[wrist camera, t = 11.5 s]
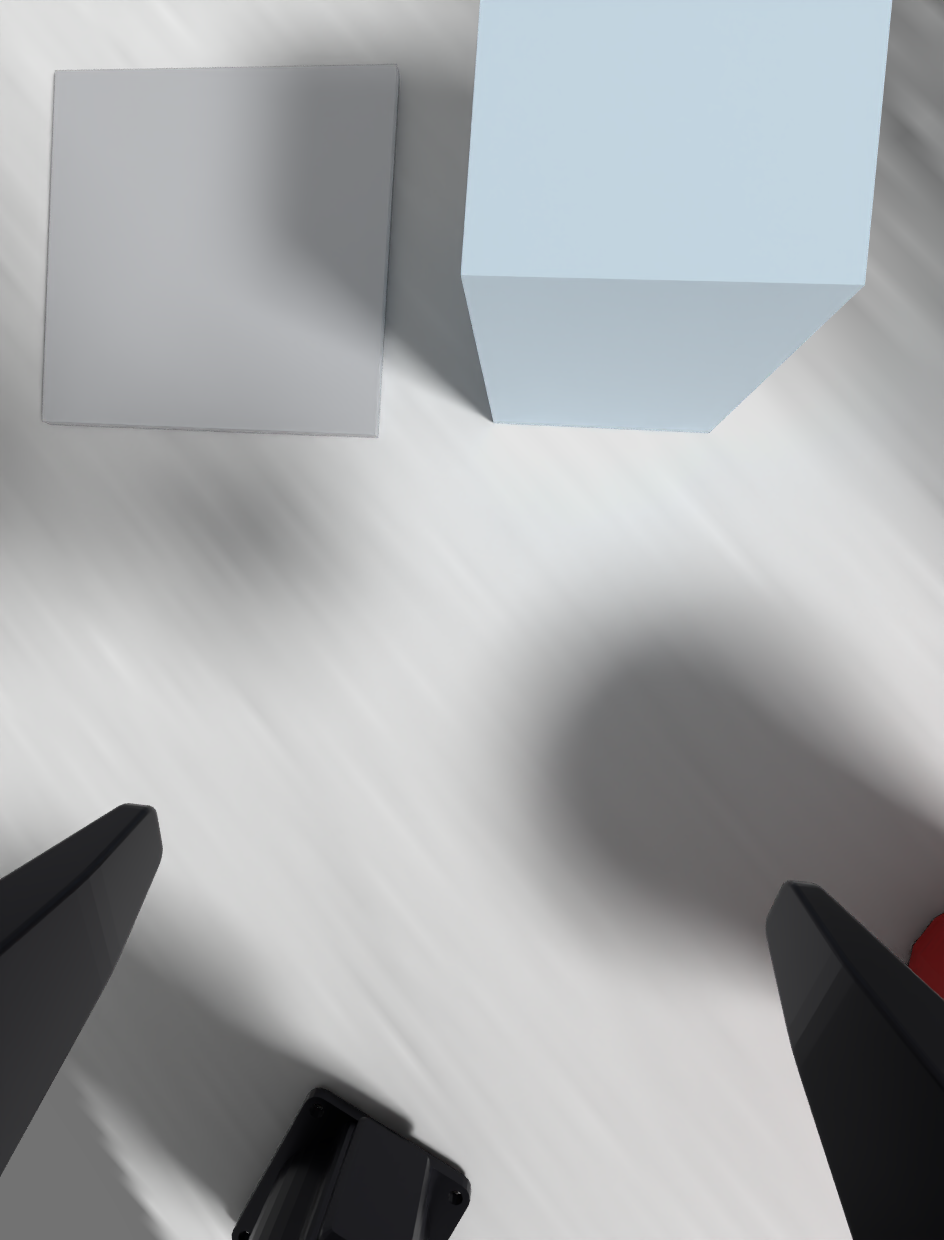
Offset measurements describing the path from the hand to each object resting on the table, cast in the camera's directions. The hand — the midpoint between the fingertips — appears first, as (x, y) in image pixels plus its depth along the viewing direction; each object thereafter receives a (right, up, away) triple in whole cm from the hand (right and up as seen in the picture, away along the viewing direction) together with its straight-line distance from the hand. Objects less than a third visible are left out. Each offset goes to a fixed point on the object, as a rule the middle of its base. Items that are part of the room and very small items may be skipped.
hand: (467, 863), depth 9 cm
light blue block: (+4, +13, +11) cm, 18 cm away
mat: (-9, +16, +13) cm, 22 cm away
